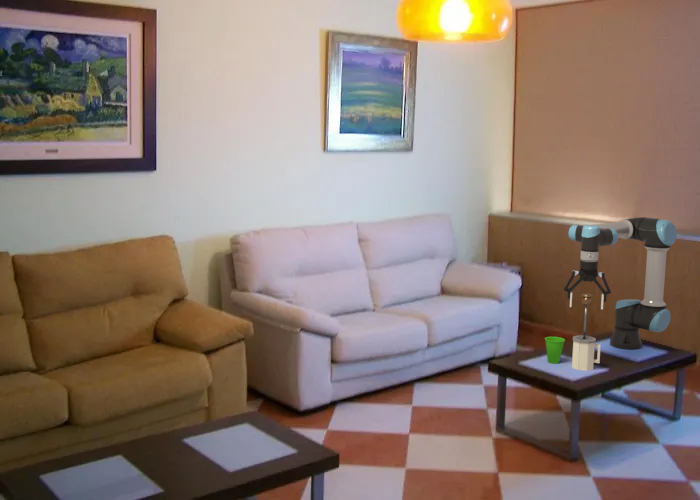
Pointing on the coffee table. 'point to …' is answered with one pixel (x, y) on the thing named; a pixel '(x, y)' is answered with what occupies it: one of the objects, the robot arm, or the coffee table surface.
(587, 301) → the plunger
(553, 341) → the cup
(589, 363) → the press
